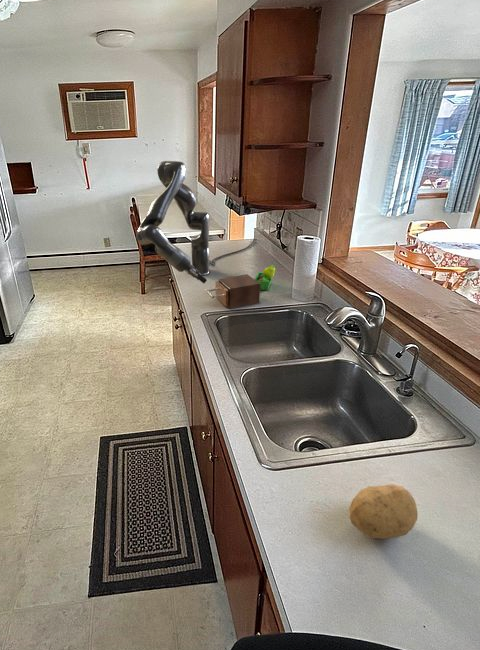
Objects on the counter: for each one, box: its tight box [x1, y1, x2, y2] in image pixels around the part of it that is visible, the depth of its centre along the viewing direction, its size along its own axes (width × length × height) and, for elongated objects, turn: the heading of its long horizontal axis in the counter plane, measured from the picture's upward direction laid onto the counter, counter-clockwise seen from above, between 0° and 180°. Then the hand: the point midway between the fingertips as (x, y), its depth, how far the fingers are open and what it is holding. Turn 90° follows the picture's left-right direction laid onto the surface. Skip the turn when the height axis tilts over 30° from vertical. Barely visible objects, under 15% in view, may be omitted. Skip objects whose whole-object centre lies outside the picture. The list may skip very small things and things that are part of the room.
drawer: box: [204, 280, 229, 308], centre depth 176 cm, size 19×11×8 cm, turn 108°
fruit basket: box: [254, 264, 276, 291], centre depth 190 cm, size 11×9×11 cm
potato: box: [348, 483, 419, 539], centre depth 78 cm, size 10×14×8 cm
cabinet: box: [218, 273, 261, 309], centre depth 178 cm, size 15×13×10 cm
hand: (205, 281), depth 170 cm, fingers closed
